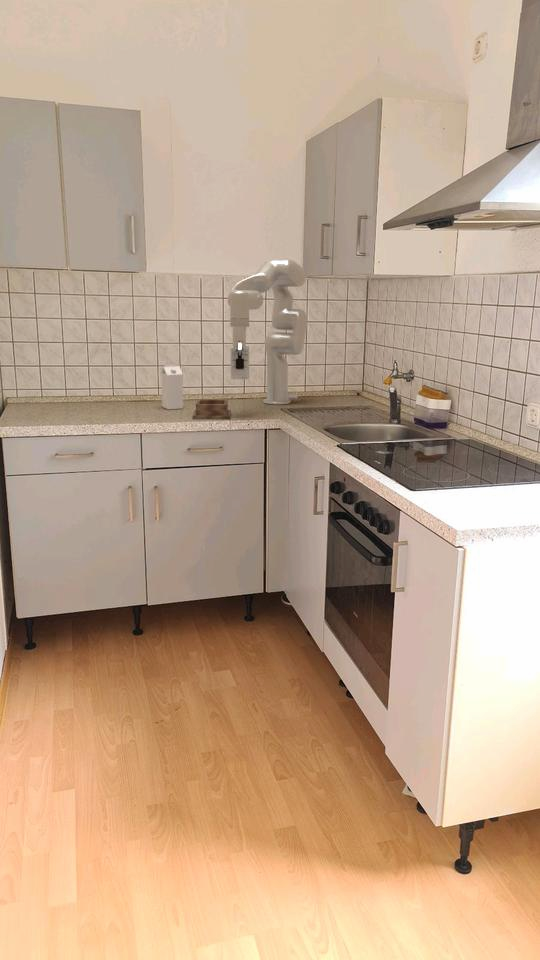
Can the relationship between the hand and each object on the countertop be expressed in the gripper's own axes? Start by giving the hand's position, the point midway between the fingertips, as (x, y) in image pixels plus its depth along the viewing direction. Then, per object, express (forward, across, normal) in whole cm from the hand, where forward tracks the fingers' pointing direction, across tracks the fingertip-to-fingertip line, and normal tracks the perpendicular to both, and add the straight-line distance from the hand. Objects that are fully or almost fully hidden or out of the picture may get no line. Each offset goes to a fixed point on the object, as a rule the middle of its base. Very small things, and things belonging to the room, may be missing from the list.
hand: (239, 367), depth 284 cm
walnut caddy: (+20, 0, -11) cm, 23 cm away
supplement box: (+5, 0, 0) cm, 5 cm away
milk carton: (+20, -19, -29) cm, 40 cm away
